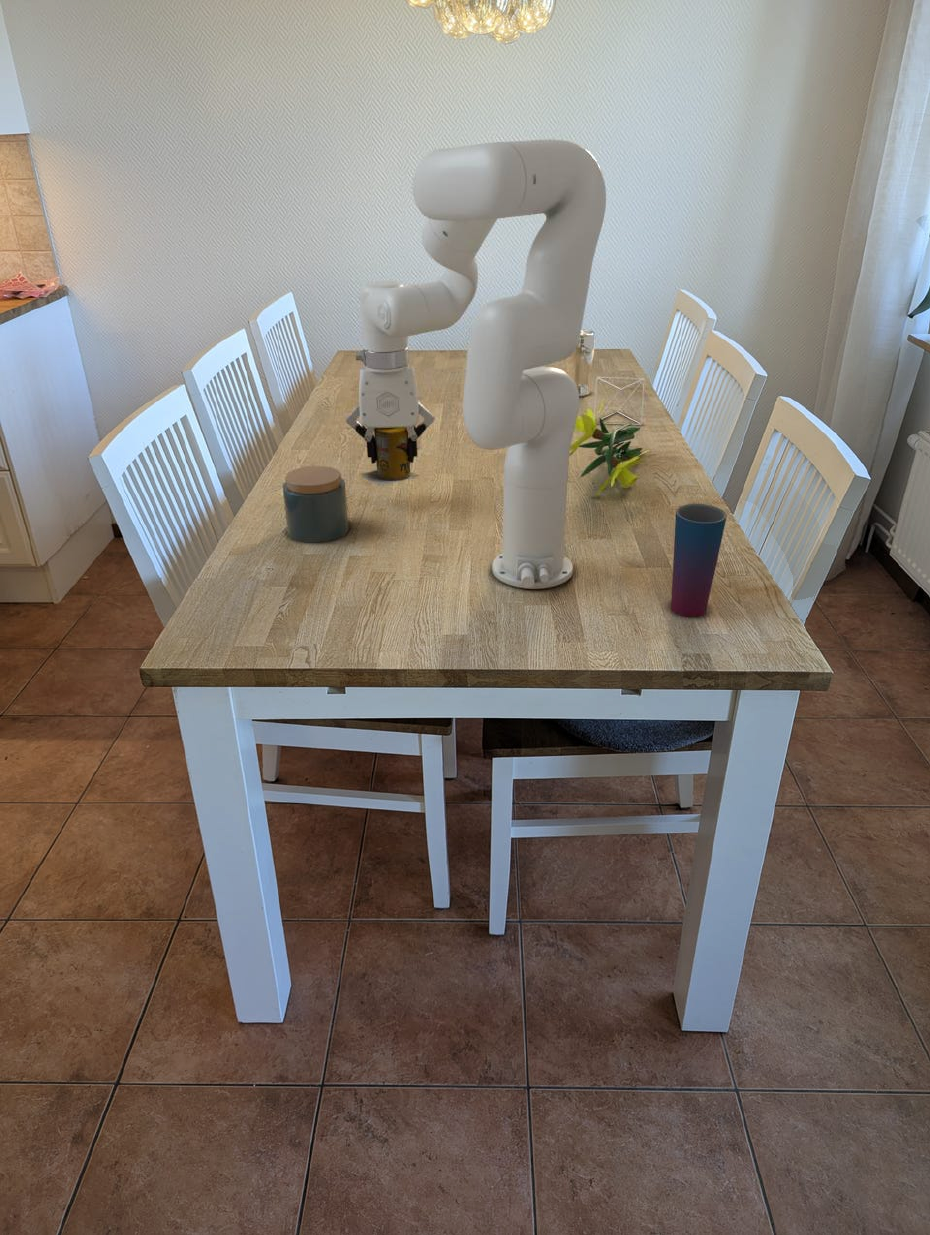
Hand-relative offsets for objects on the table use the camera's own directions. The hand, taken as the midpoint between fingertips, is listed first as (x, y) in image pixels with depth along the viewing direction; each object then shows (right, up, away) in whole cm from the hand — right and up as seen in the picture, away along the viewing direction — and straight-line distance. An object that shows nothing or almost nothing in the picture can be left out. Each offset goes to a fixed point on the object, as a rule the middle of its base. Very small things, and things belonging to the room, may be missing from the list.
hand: (392, 459), depth 164 cm
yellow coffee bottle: (-1, -3, +2) cm, 3 cm away
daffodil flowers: (+41, -1, +16) cm, 44 cm away
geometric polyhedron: (+48, +17, +47) cm, 69 cm away
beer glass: (+41, +28, +66) cm, 83 cm away
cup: (+45, -27, -30) cm, 61 cm away
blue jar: (-12, -13, -6) cm, 19 cm away
